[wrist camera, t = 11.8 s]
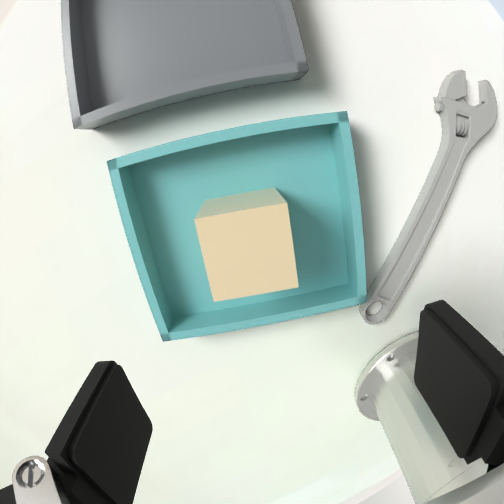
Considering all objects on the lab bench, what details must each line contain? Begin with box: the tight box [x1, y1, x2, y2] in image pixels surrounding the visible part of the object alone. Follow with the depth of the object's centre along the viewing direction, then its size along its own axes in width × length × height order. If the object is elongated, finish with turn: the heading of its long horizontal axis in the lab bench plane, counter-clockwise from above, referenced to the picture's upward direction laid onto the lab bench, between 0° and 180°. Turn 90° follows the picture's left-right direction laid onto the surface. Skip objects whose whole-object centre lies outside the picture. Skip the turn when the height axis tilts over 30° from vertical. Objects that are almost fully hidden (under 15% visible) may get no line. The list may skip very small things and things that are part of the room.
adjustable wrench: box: [359, 70, 497, 324], centre depth 23 cm, size 25×6×2 cm, turn 152°
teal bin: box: [107, 111, 367, 341], centre depth 22 cm, size 16×14×3 cm
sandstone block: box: [194, 187, 299, 302], centre depth 20 cm, size 5×5×6 cm
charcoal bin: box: [61, 0, 309, 129], centre depth 17 cm, size 16×14×3 cm
